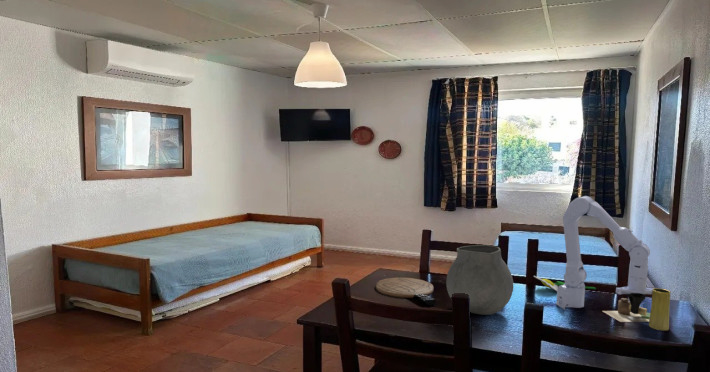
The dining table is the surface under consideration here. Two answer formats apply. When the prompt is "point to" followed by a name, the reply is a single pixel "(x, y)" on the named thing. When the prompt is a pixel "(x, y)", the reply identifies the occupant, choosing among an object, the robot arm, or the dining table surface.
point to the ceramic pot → (481, 278)
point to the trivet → (404, 287)
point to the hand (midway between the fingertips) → (634, 313)
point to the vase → (660, 309)
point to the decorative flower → (554, 284)
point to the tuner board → (628, 317)
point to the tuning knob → (629, 307)
